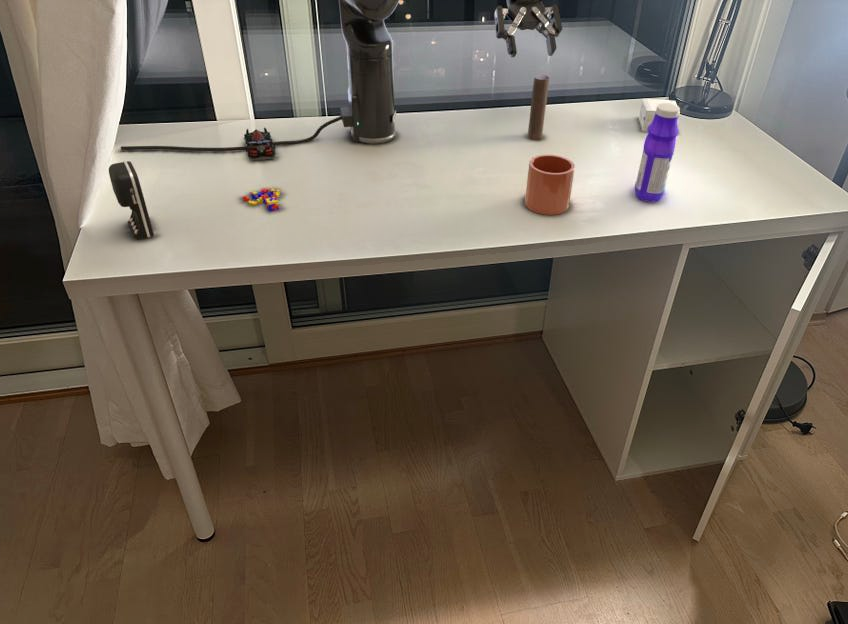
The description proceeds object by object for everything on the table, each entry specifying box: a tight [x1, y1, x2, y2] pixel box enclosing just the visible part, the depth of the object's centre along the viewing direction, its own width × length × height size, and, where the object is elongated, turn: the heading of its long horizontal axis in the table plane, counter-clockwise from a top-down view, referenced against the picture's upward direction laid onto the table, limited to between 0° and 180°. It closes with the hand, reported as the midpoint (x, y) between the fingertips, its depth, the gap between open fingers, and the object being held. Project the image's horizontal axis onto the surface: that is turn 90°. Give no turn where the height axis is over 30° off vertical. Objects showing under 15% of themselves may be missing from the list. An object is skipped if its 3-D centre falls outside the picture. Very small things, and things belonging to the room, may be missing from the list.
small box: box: [638, 98, 681, 133], centre depth 162 cm, size 8×8×5 cm
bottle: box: [634, 103, 681, 203], centre depth 131 cm, size 7×6×17 cm
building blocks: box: [242, 186, 281, 212], centre depth 128 cm, size 6×8×2 cm
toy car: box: [243, 126, 277, 161], centre depth 144 cm, size 6×12×4 cm, turn 18°
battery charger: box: [108, 160, 155, 239], centre depth 115 cm, size 7×4×11 cm, turn 30°
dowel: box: [527, 74, 550, 141], centre depth 152 cm, size 3×3×13 cm
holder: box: [524, 154, 576, 216], centre depth 130 cm, size 8×8×8 cm
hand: (533, 54), depth 150 cm, fingers open, 8 cm apart
